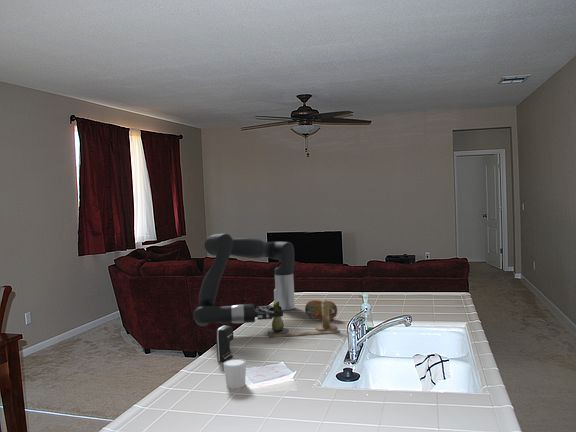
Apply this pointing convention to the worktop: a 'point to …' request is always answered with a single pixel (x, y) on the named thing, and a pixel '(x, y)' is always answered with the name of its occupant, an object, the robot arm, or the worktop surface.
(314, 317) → the tin
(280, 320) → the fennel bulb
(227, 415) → the worktop surface
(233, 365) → the white cup
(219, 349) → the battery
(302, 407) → the worktop surface
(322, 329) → the brown long irregular piece
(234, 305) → the robot arm
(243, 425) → the worktop surface
